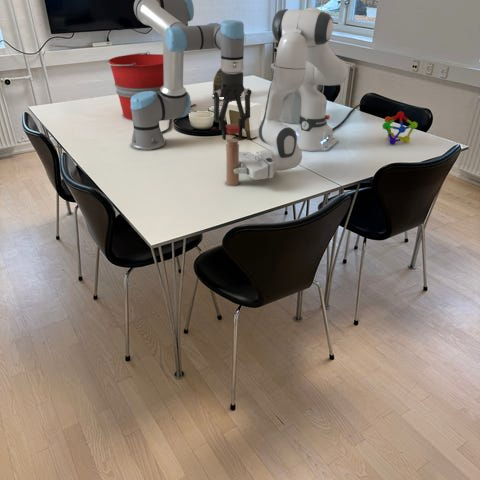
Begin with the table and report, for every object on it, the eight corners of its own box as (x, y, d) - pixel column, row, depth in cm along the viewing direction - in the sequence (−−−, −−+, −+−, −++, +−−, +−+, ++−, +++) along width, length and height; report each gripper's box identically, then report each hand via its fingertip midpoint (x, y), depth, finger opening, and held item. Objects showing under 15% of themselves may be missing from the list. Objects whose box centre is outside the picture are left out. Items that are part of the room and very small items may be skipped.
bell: (227, 105, 294) (202, 96, 282) (238, 66, 289) (213, 55, 277) (243, 108, 280) (217, 98, 268) (255, 66, 275) (229, 55, 263)
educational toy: (377, 146, 209) (379, 114, 202) (384, 138, 219) (386, 107, 211) (411, 149, 202) (415, 116, 195) (417, 141, 212) (420, 109, 204)
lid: (222, 129, 162) (222, 124, 161) (236, 128, 164) (236, 123, 163) (227, 134, 158) (227, 129, 157) (242, 133, 159) (242, 127, 158)
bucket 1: (122, 105, 264) (115, 51, 248) (181, 105, 263) (177, 51, 248) (106, 122, 235) (96, 62, 219) (171, 123, 234) (167, 63, 218)
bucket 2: (296, 131, 225) (301, 73, 210) (257, 117, 244) (258, 64, 229) (334, 119, 242) (340, 65, 227) (294, 108, 260) (297, 57, 246)
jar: (241, 184, 171) (241, 141, 161) (230, 186, 169) (230, 143, 159) (234, 179, 174) (234, 137, 165) (224, 182, 172) (223, 139, 163)
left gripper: (207, 75, 144) (209, 143, 157) (261, 72, 149) (259, 139, 161) (203, 70, 150) (205, 136, 163) (255, 68, 155) (253, 132, 167)
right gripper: (251, 146, 179) (219, 151, 174) (275, 164, 163) (241, 169, 158) (251, 161, 182) (220, 166, 177) (274, 179, 166) (241, 186, 161)
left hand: (232, 137), depth 162 cm, fingers closed on lid, 5 cm apart
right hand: (230, 168), depth 167 cm, fingers closed on jar, 5 cm apart
